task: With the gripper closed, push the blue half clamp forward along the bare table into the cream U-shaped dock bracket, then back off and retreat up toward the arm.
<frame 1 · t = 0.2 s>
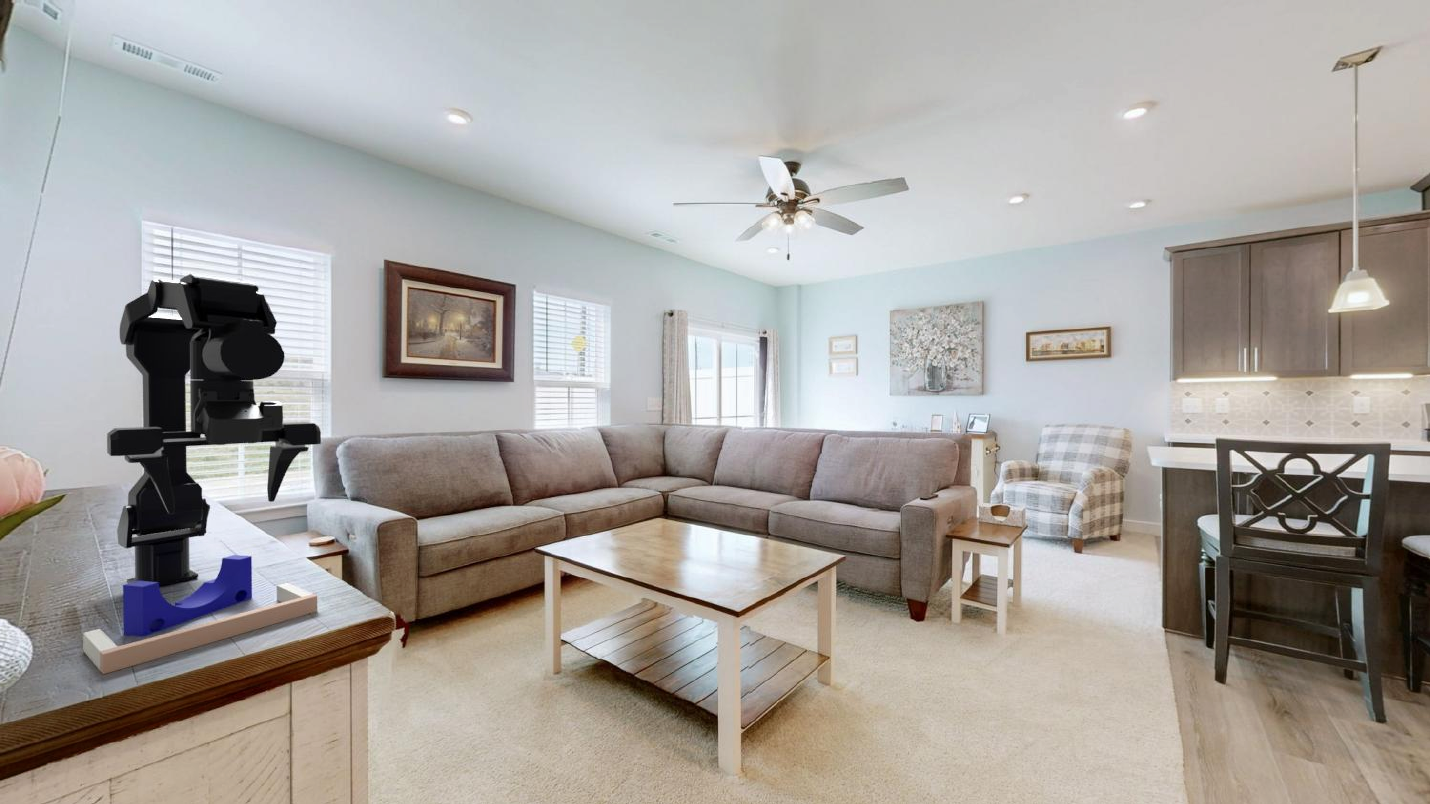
hand: (223, 507, 66), 14 cm above the table, fingers open, 9 cm apart
dock bracket: (208, 628, 64), on the table
blue half clamp: (188, 617, 68), on the table
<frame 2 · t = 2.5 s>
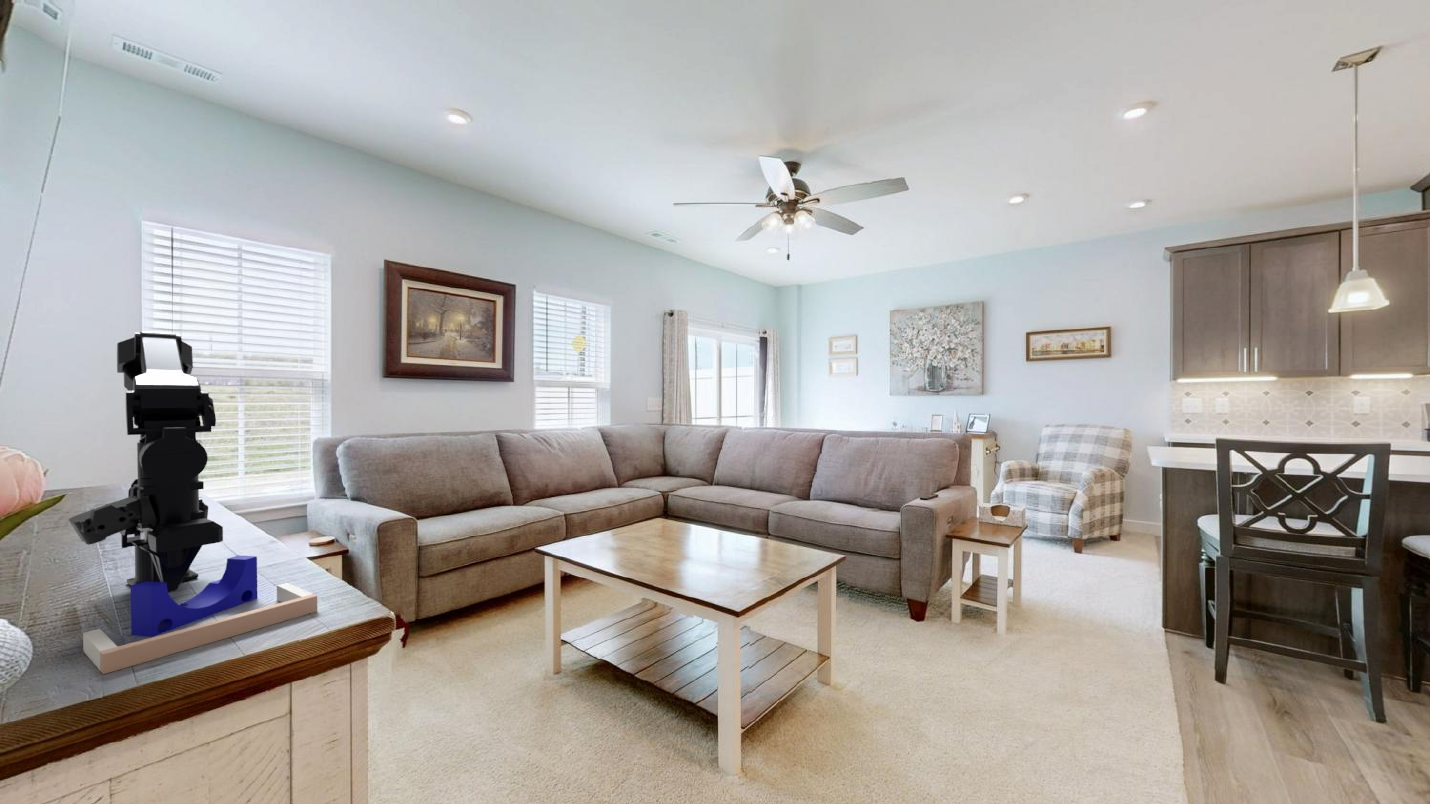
hand: (170, 591, 72), 2 cm above the table, fingers closed
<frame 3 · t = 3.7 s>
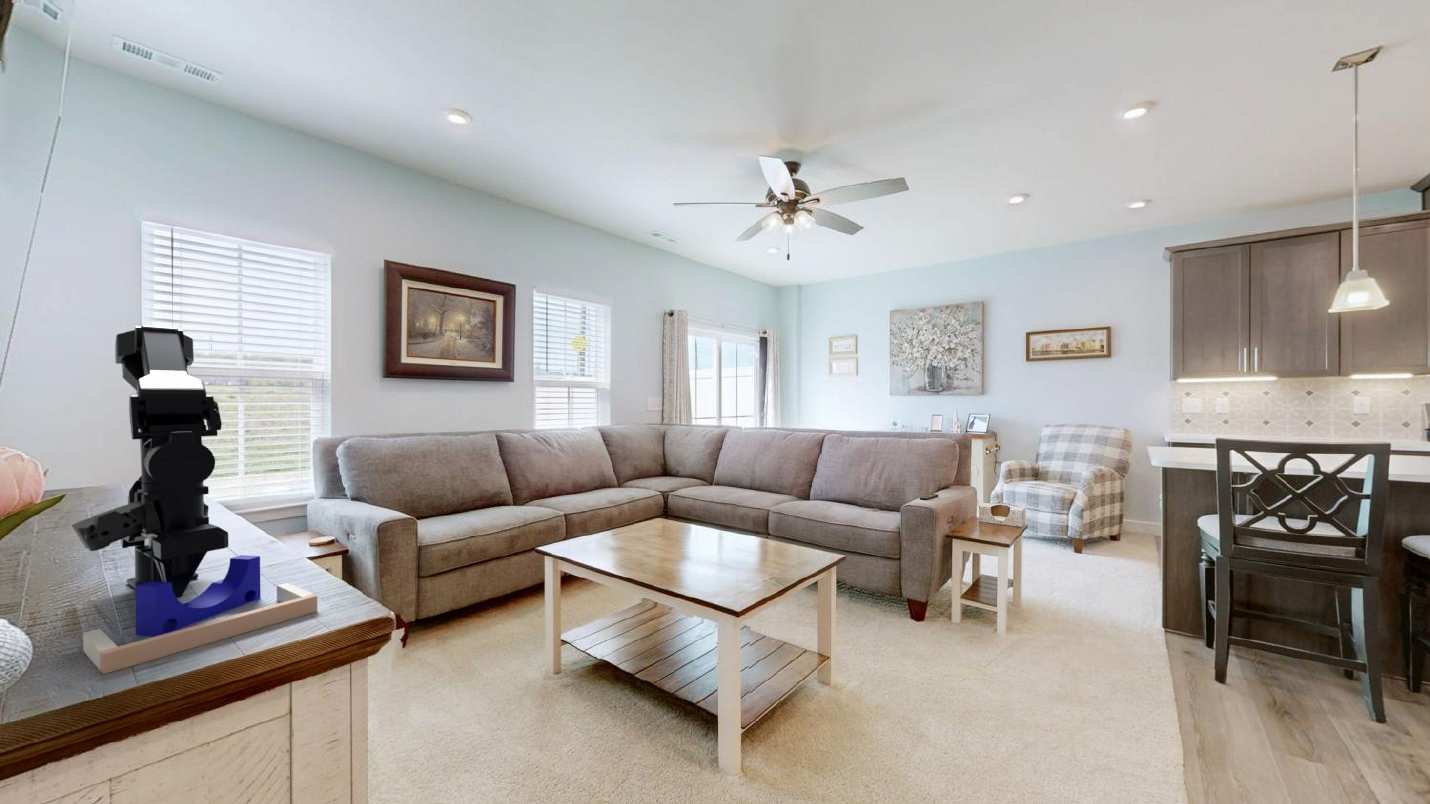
hand: (175, 598, 71), 1 cm above the table, fingers closed
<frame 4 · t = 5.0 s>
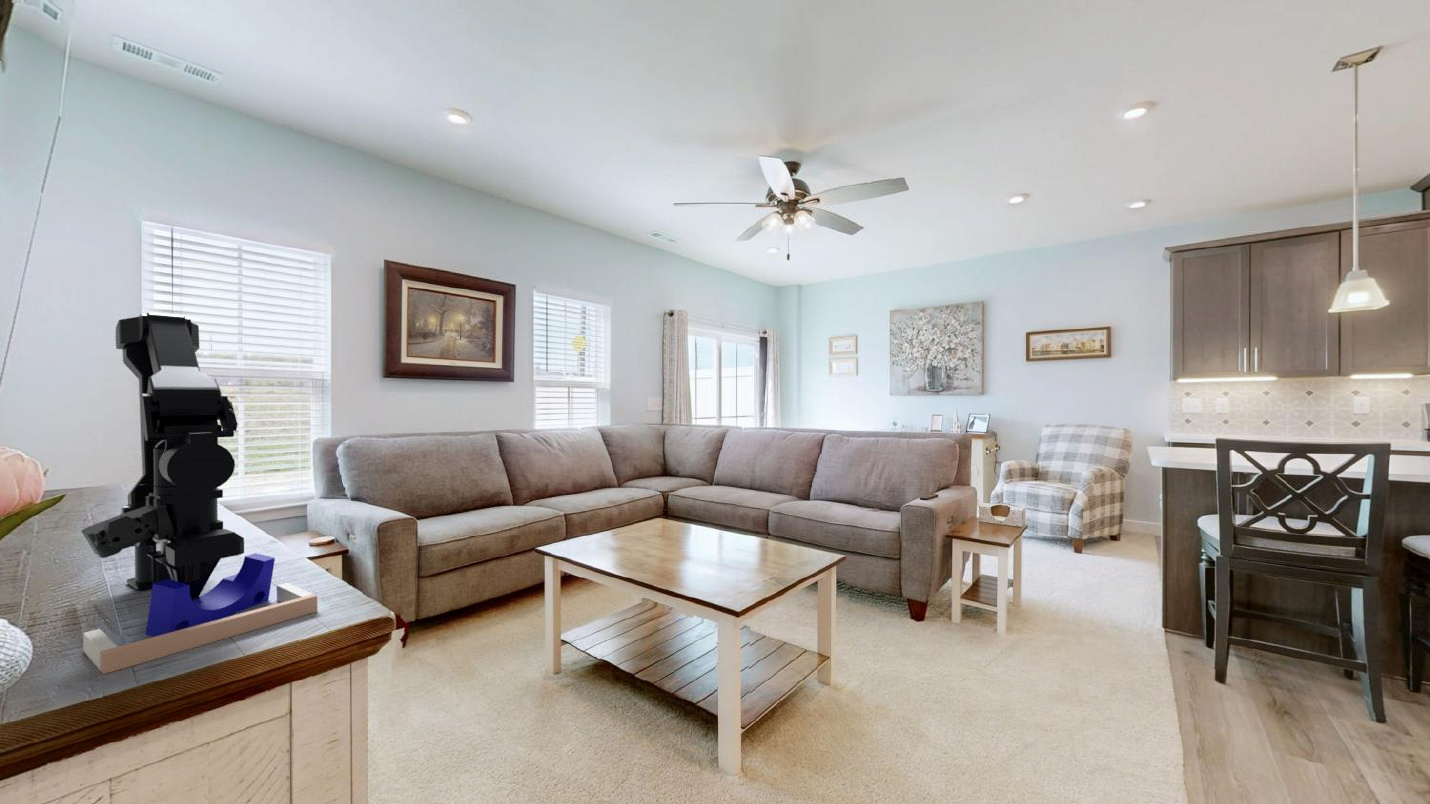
hand: (187, 606, 68), 1 cm above the table, fingers closed
blue half clamp: (206, 616, 67), on the table, touching gripper
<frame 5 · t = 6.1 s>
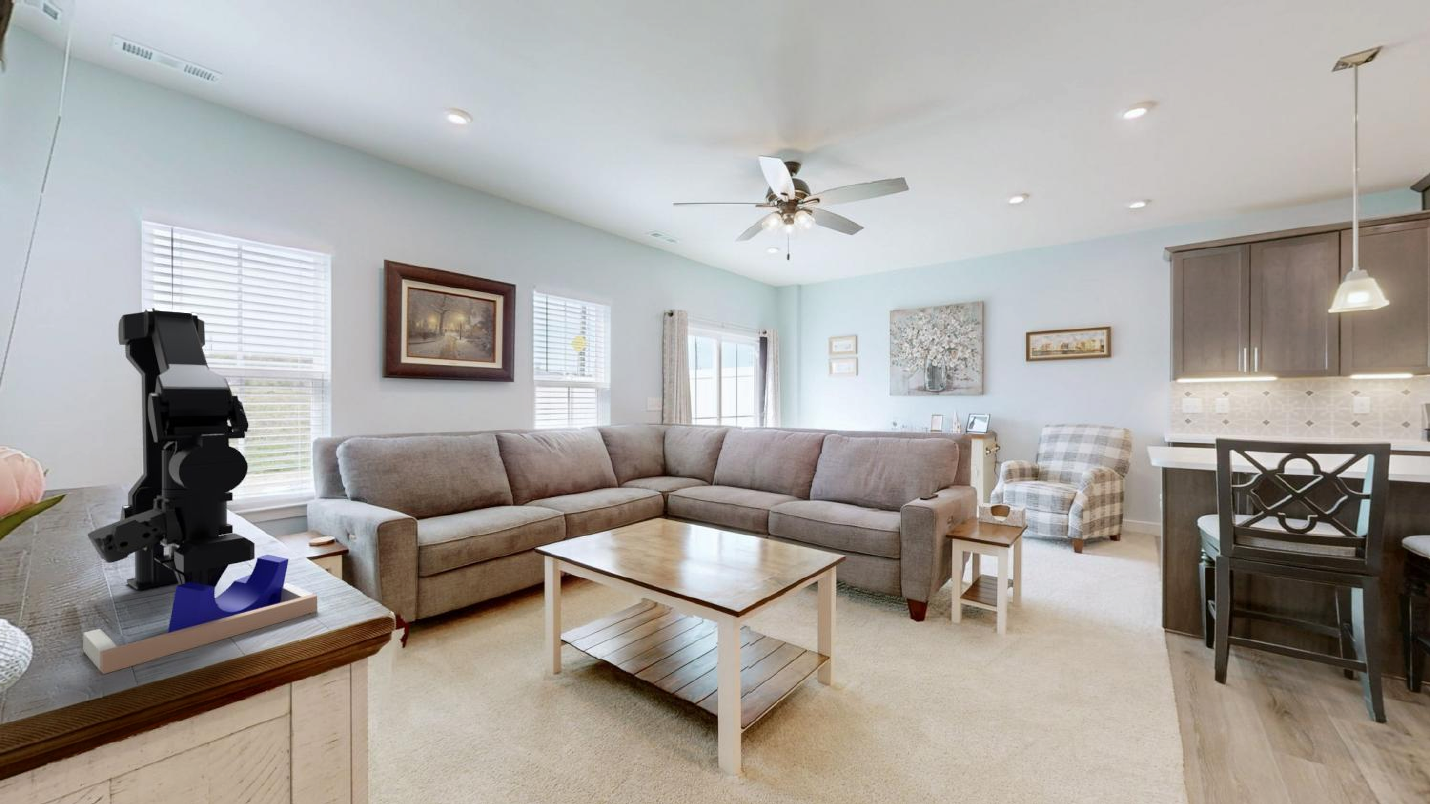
hand: (195, 612, 66), 1 cm above the table, fingers closed
blue half clamp: (222, 619, 66), on the table, touching dock bracket, gripper
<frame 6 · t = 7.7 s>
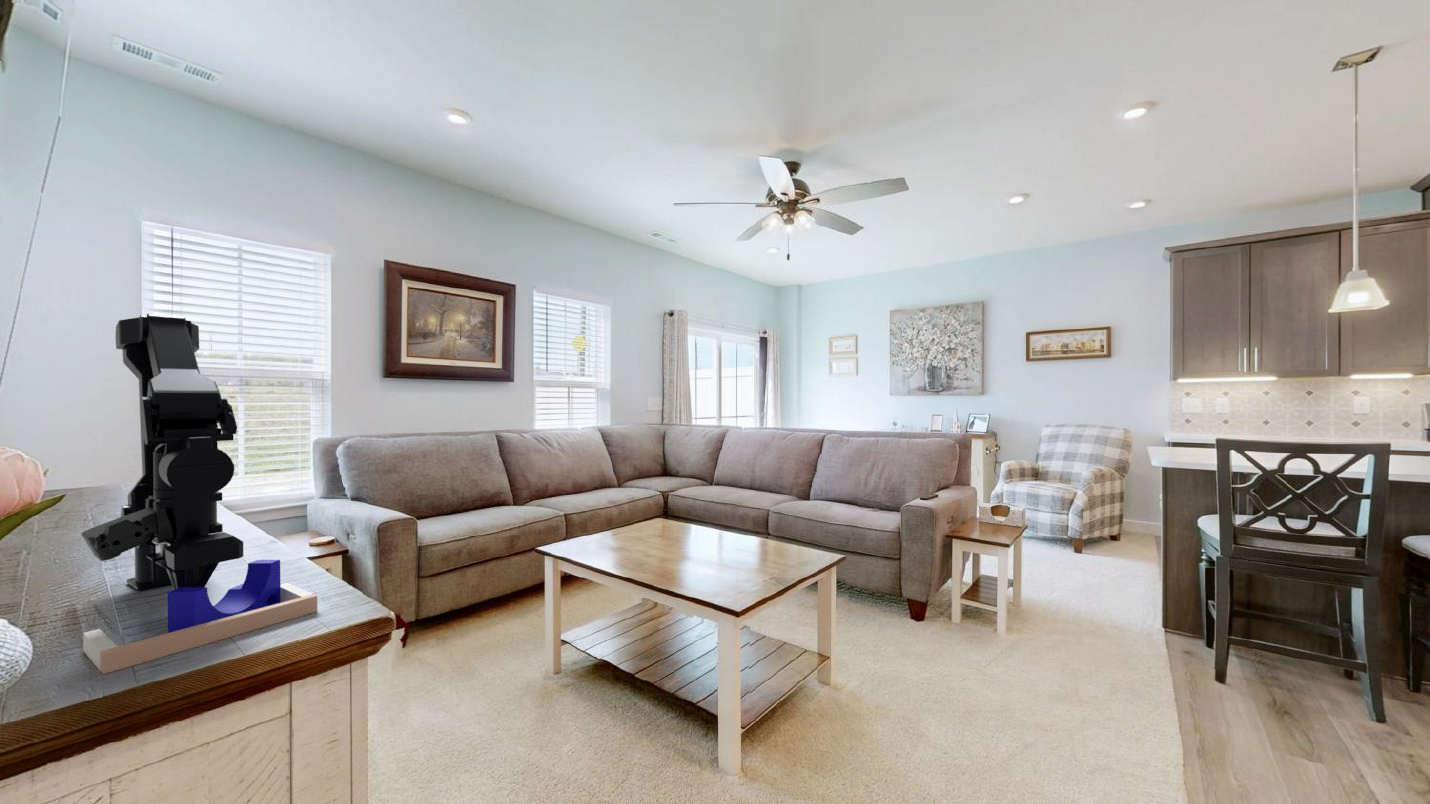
hand: (187, 608, 68), 1 cm above the table, fingers closed
blue half clamp: (223, 624, 66), on the table
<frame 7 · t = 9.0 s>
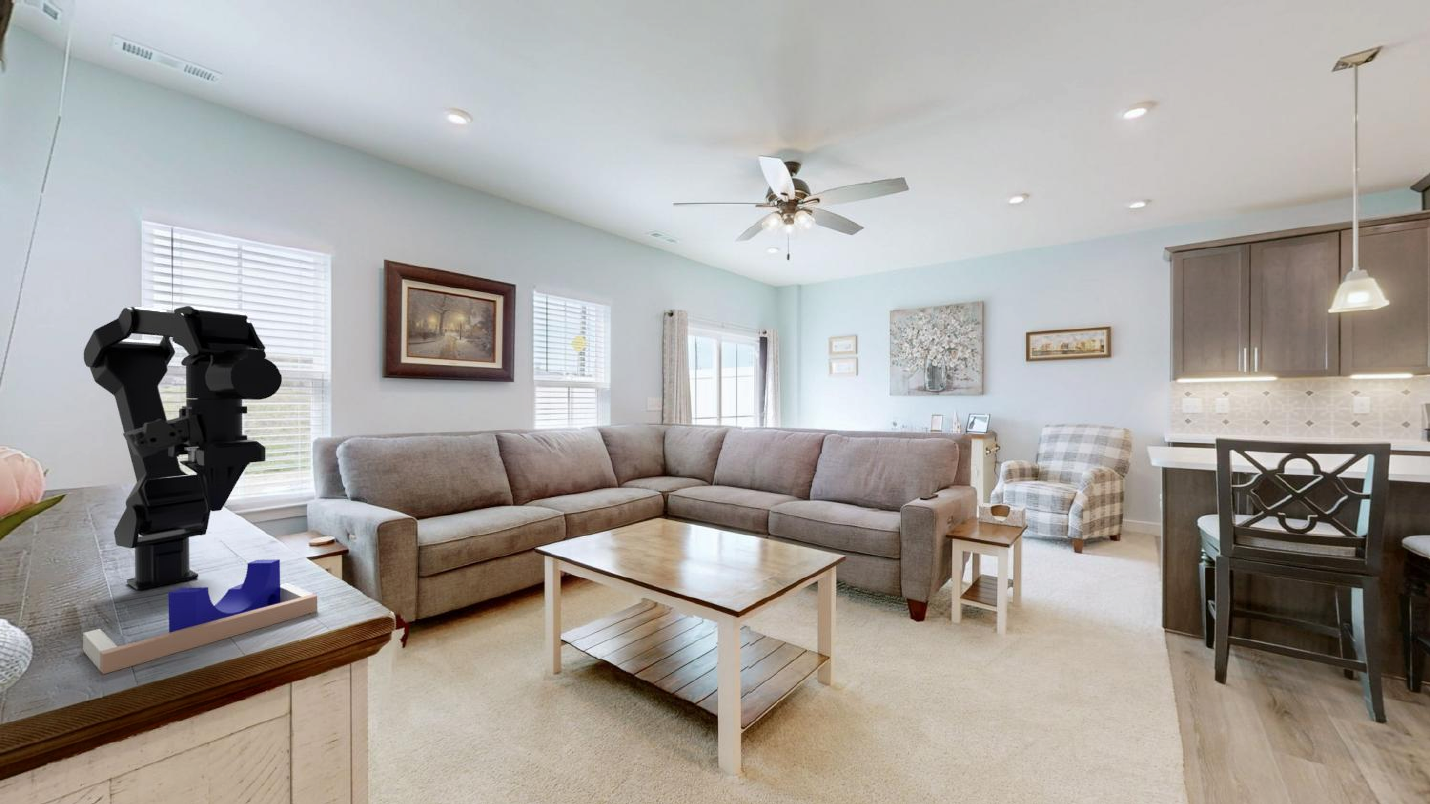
hand: (215, 510, 75), 12 cm above the table, fingers closed
nothing on the table moved.
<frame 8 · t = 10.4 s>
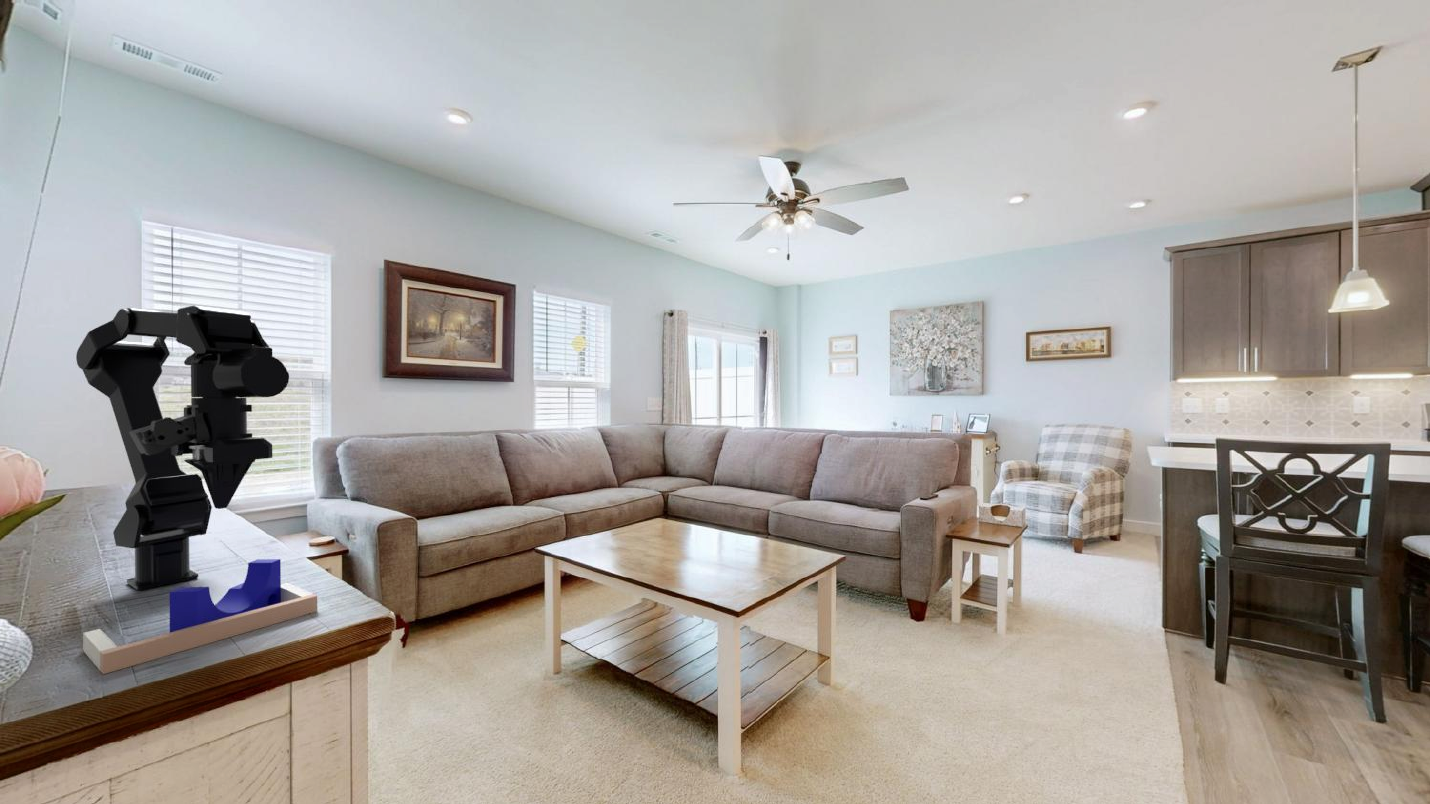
hand: (221, 508, 75), 12 cm above the table, fingers closed
nothing on the table moved.
at the end: blue half clamp inside the target area (2.3 cm from its centre), on the table; blue half clamp tilted 0°; blue half clamp moved 7.0 cm from its start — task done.
